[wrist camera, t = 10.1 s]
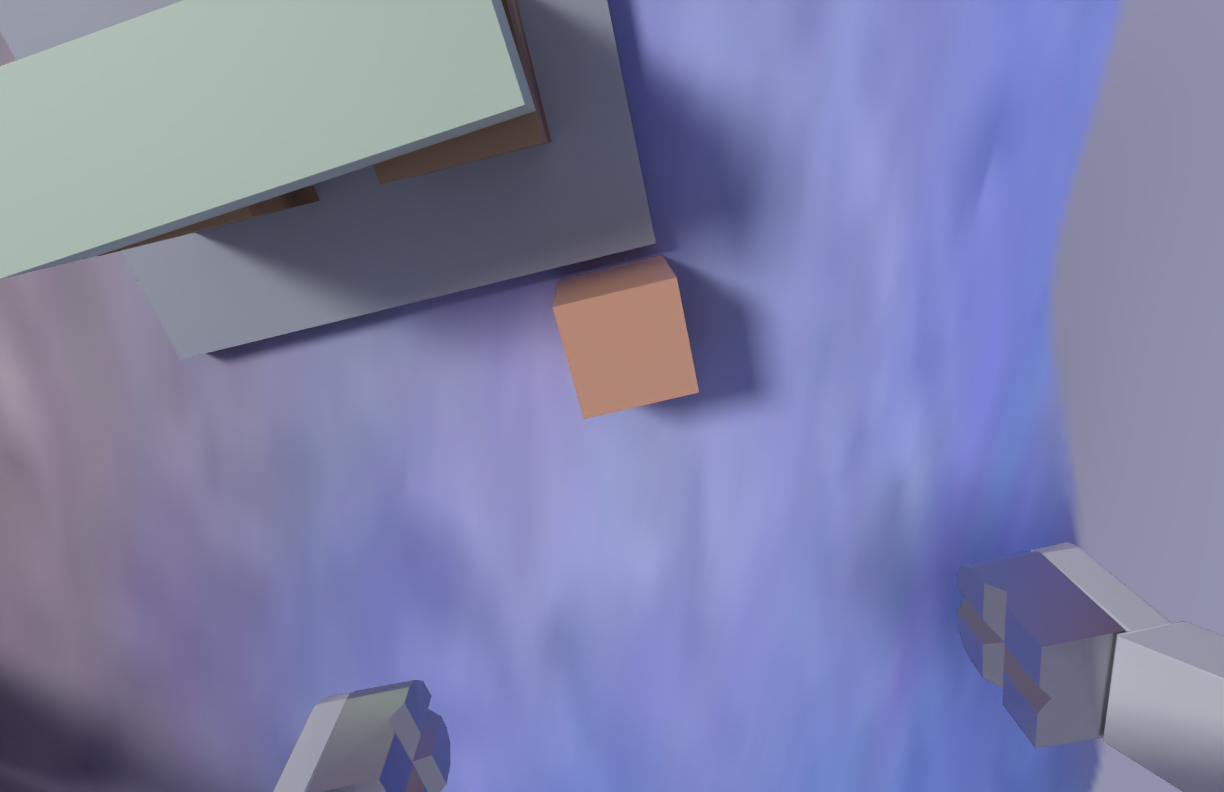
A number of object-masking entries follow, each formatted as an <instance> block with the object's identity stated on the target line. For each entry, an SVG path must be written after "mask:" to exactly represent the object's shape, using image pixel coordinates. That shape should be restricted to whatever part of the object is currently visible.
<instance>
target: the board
mask: <svg viewBox="0 0 1224 792" xmlns="http://www.w3.org/2000/svg"><path fill="white" fill-rule="evenodd" d="M180 1H183V0H0V32H1V34H2V36H3V37H4V39H5V41H6V43H7V45H8V47H9V48H10V50H11V52H12V54H13V56H14V57H15V59H16V61H17V60H19V59H22V58H25V57H28V56H30V55H33V54H36V53H39V52H42V51H44V50H47V49H50V48H53V47H55V46H58V45H61V44H64V43H66V42H69V41H72V40H75V39H77V38H80V37H83V36H86V35H89V34H91V33H94V32H97V31H100V30H102V29H105V28H108V27H111V26H113V25H116V24H119V23H122V22H125V21H127V20H130V19H133V18H136V17H138V16H141V15H144V14H147V13H149V12H152V11H155V10H158V9H160V8H163V7H166V6H169V5H172V4H174V3H177V2H180ZM516 1H517V5H518V9H519V13H520V17H521V21H522V25H523V29H524V33H525V37H526V41H527V45H528V49H529V53H530V57H531V61H532V65H533V69H534V73H535V77H536V81H537V85H538V89H539V93H540V97H541V101H542V105H543V109H544V113H545V116H546V120H547V124H548V128H549V132H550V136H551V140H552V142H549V143H545V144H541V145H537V146H533V147H529V148H525V149H521V150H517V151H514V152H510V153H506V154H502V155H498V156H494V157H490V158H486V159H482V160H478V161H474V162H470V163H467V164H463V165H459V166H455V167H451V168H447V169H443V170H439V171H435V172H431V173H427V174H423V175H419V176H415V177H410V178H406V179H402V180H397V181H393V182H388V183H384V184H379V181H378V178H377V175H376V173H375V170H374V167H373V165H371V166H368V167H365V168H362V169H359V170H356V171H353V172H349V173H346V174H343V175H340V176H337V177H334V178H331V179H328V180H325V181H322V182H319V183H316V184H313V186H314V188H315V191H316V193H317V196H318V198H319V201H317V202H313V203H309V204H305V205H301V206H297V207H294V208H290V209H286V210H282V211H278V212H274V213H270V214H266V215H262V216H258V217H254V218H250V219H247V220H243V221H239V222H235V223H231V224H227V225H223V226H219V227H215V228H211V229H207V230H203V231H200V232H196V233H192V234H187V235H183V236H179V237H175V238H171V239H167V240H163V241H159V242H154V243H150V244H146V245H142V246H138V247H134V248H130V249H126V250H121V252H122V254H123V256H124V258H125V260H126V261H127V263H128V265H129V267H130V269H131V270H132V272H133V274H134V276H135V278H136V280H137V281H138V283H139V285H140V287H141V289H142V291H143V292H144V294H145V296H146V298H147V300H148V301H149V303H150V305H151V307H152V309H153V311H154V312H155V314H156V316H157V318H158V320H159V321H160V323H161V325H162V327H163V329H164V331H165V332H166V334H167V336H168V338H169V340H170V342H171V343H172V345H173V347H174V349H175V351H176V352H177V354H178V356H179V358H180V359H184V358H189V357H193V356H197V355H201V354H205V353H209V352H213V351H217V350H221V349H225V348H230V347H234V346H238V345H242V344H246V343H250V342H254V341H258V340H262V339H266V338H271V337H275V336H279V335H283V334H287V333H291V332H295V331H299V330H303V329H307V328H312V327H316V326H320V325H324V324H328V323H332V322H336V321H340V320H344V319H348V318H353V317H357V316H361V315H365V314H369V313H373V312H377V311H381V310H385V309H389V308H394V307H398V306H402V305H406V304H410V303H414V302H418V301H422V300H426V299H430V298H435V297H439V296H443V295H447V294H451V293H455V292H459V291H463V290H467V289H471V288H476V287H480V286H484V285H488V284H492V283H496V282H500V281H504V280H508V279H512V278H517V277H521V276H525V275H529V274H533V273H537V272H541V271H545V270H549V269H553V268H558V267H562V266H566V265H570V264H574V263H578V262H582V261H586V260H590V259H594V258H599V257H603V256H607V255H611V254H615V253H619V252H623V251H627V250H631V249H635V248H640V247H644V246H648V245H652V244H656V240H655V235H654V231H653V226H652V221H651V216H650V211H649V206H648V201H647V196H646V191H645V186H644V181H643V176H642V171H641V166H640V161H639V156H638V151H637V146H636V141H635V136H634V131H633V126H632V121H631V116H630V111H629V106H628V101H627V96H626V92H625V87H624V82H623V77H622V72H621V67H620V62H619V57H618V52H617V47H616V42H615V37H614V32H613V27H612V22H611V17H610V12H609V7H608V2H607V0H516Z"/></svg>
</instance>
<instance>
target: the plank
mask: <svg viewBox="0 0 1224 792" xmlns="http://www.w3.org/2000/svg"><path fill="white" fill-rule="evenodd" d="M534 111H536V109H535V106H534V103H533V99H532V96H531V93H530V90H529V87H528V84H527V80H526V77H525V74H524V71H523V68H522V64H521V61H520V58H519V55H518V52H517V49H516V45H515V42H514V39H513V36H512V33H511V30H510V26H509V23H508V20H507V17H506V14H505V10H504V7H503V4H502V1H501V0H183V1H180V2H177V3H174V4H172V5H169V6H166V7H163V8H160V9H158V10H155V11H152V12H149V13H147V14H144V15H141V16H138V17H136V18H133V19H130V20H127V21H125V22H122V23H119V24H116V25H113V26H111V27H108V28H105V29H102V30H100V31H97V32H94V33H91V34H89V35H86V36H83V37H80V38H77V39H75V40H72V41H69V42H66V43H64V44H61V45H58V46H55V47H53V48H50V49H47V50H44V51H42V52H39V53H36V54H33V55H30V56H28V57H25V58H22V59H19V60H17V61H14V62H11V63H8V64H6V65H3V66H0V279H2V278H7V277H11V276H15V275H19V274H23V273H27V272H31V271H36V270H40V269H44V268H48V267H52V266H56V265H61V264H65V263H69V262H73V261H77V260H81V259H85V258H90V257H94V256H98V255H101V254H104V253H107V252H110V251H113V250H116V249H119V248H122V247H125V246H128V245H131V244H134V243H137V242H141V241H144V240H147V239H150V238H153V237H156V236H159V235H162V234H165V233H168V232H171V231H174V230H177V229H180V228H183V227H186V226H189V225H192V224H195V223H198V222H201V221H204V220H207V219H210V218H213V217H216V216H219V215H222V214H225V213H228V212H231V211H234V210H237V209H240V208H243V207H247V206H250V205H253V204H256V203H259V202H262V201H265V200H268V199H271V198H274V197H277V196H280V195H283V194H286V193H289V192H292V191H295V190H298V189H301V188H304V187H307V186H310V185H313V184H316V183H319V182H322V181H325V180H328V179H331V178H334V177H337V176H340V175H343V174H346V173H349V172H353V171H356V170H359V169H362V168H365V167H368V166H371V165H374V164H377V163H380V162H383V161H386V160H389V159H392V158H395V157H398V156H401V155H404V154H407V153H410V152H413V151H416V150H419V149H422V148H425V147H428V146H431V145H434V144H437V143H440V142H443V141H446V140H449V139H452V138H455V137H459V136H462V135H465V134H468V133H471V132H474V131H477V130H480V129H483V128H486V127H489V126H492V125H495V124H498V123H501V122H504V121H507V120H510V119H513V118H516V117H519V116H522V115H525V114H528V113H531V112H534Z"/></svg>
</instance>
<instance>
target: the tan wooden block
mask: <svg viewBox="0 0 1224 792" xmlns="http://www.w3.org/2000/svg"><path fill="white" fill-rule="evenodd" d="M501 1H502V4H503V7H504V10H505V14H506V17H507V20H508V23H509V26H510V30H511V33H512V36H513V39H514V42H515V45H516V49H517V52H518V55H519V58H520V61H521V64H522V68H523V71H524V74H525V77H526V80H527V84H528V87H529V90H530V93H531V96H532V99H533V103H534V106H535V109H536V111H534V112H531V113H528V114H525V115H522V116H519V117H516V118H513V119H510V120H507V121H504V122H501V123H498V124H495V125H492V126H489V127H486V128H483V129H480V130H477V131H474V132H471V133H468V134H465V135H462V136H459V137H455V138H452V139H449V140H446V141H443V142H440V143H437V144H434V145H431V146H428V147H425V148H422V149H419V150H416V151H413V152H410V153H407V154H404V155H401V156H398V157H395V158H392V159H389V160H386V161H383V162H380V163H377V164H374V165H373V167H374V170H375V173H376V175H377V178H378V181H379V184H384V183H388V182H393V181H397V180H402V179H406V178H410V177H415V176H419V175H423V174H427V173H431V172H435V171H439V170H443V169H447V168H451V167H455V166H459V165H463V164H467V163H470V162H474V161H478V160H482V159H486V158H490V157H494V156H498V155H502V154H506V153H510V152H514V151H517V150H521V149H525V148H529V147H533V146H537V145H541V144H545V143H549V142H552V140H551V136H550V132H549V128H548V124H547V120H546V116H545V113H544V109H543V105H542V101H541V97H540V93H539V89H538V85H537V81H536V77H535V73H534V69H533V65H532V61H531V57H530V53H529V49H528V45H527V41H526V37H525V33H524V29H523V25H522V21H521V17H520V13H519V9H518V5H517V1H516V0H501Z"/></svg>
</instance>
